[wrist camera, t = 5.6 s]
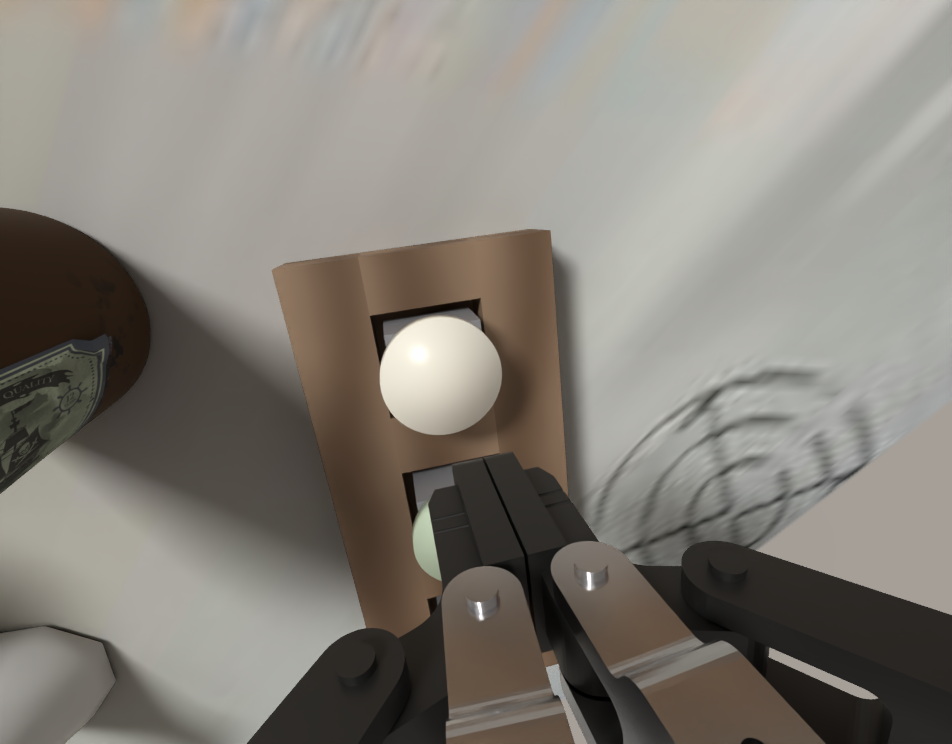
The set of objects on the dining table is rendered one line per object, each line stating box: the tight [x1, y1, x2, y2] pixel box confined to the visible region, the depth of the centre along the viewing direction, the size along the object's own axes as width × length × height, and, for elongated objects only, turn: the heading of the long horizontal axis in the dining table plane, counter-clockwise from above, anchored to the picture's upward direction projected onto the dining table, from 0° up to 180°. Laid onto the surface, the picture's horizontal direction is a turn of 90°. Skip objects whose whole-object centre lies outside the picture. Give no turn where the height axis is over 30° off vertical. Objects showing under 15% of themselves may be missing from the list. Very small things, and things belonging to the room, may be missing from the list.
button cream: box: [380, 307, 502, 435], centre depth 21 cm, size 5×5×4 cm
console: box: [272, 229, 568, 667], centre depth 26 cm, size 12×26×3 cm, turn 8°
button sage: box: [412, 456, 488, 581], centre depth 24 cm, size 5×5×4 cm
